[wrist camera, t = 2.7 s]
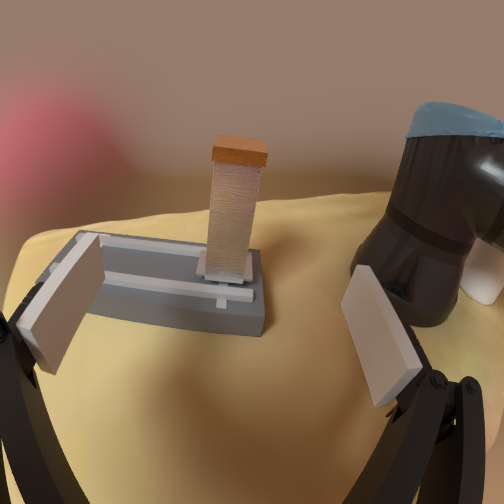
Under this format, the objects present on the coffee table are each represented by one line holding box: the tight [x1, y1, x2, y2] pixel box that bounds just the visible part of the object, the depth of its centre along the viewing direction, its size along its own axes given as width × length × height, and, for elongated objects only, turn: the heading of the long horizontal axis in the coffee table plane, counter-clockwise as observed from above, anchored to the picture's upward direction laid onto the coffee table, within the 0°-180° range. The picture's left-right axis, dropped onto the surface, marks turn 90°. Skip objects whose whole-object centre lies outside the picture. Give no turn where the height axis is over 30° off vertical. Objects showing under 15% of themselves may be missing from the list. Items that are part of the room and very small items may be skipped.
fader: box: [196, 135, 268, 284], centre depth 23 cm, size 5×5×11 cm
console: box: [35, 230, 265, 337], centre depth 26 cm, size 21×10×3 cm, turn 91°
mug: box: [460, 238, 504, 305], centre depth 33 cm, size 12×8×10 cm
